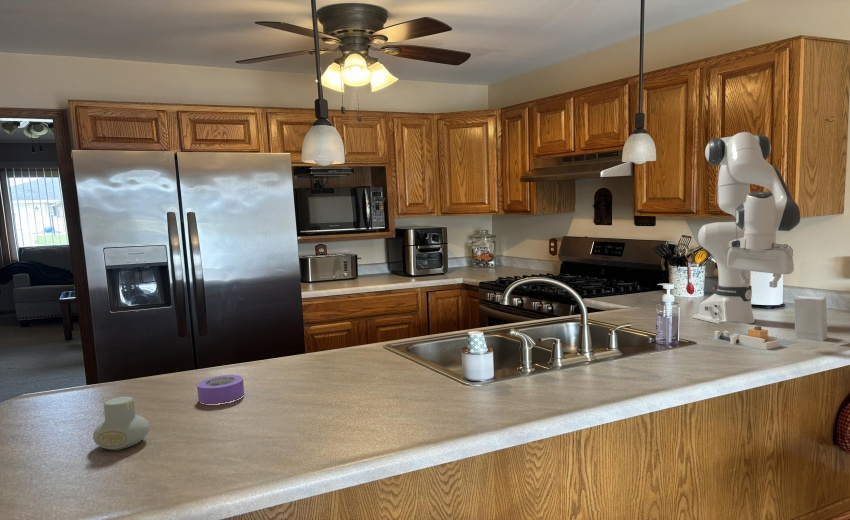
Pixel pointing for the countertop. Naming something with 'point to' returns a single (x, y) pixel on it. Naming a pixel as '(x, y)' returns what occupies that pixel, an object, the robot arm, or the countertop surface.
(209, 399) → the tape roll
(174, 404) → the countertop surface
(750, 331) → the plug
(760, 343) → the board
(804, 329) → the skincare box
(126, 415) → the air freshener
